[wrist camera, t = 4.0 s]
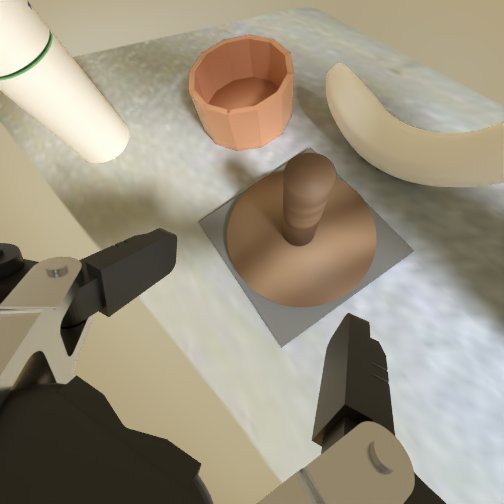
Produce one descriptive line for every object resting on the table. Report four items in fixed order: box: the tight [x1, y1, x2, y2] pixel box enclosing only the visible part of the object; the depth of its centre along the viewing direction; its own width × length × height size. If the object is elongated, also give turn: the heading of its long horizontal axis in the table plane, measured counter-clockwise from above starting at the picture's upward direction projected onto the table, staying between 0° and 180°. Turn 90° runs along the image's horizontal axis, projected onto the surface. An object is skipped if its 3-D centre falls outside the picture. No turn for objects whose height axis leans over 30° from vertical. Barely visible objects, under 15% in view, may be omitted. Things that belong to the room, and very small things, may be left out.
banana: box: [325, 62, 504, 187], centre depth 18 cm, size 5×19×15 cm, turn 48°
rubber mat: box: [199, 148, 414, 348], centre depth 23 cm, size 15×15×1 cm
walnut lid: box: [227, 153, 377, 307], centre depth 18 cm, size 14×14×10 cm
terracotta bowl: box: [189, 35, 294, 151], centre depth 26 cm, size 11×11×5 cm
